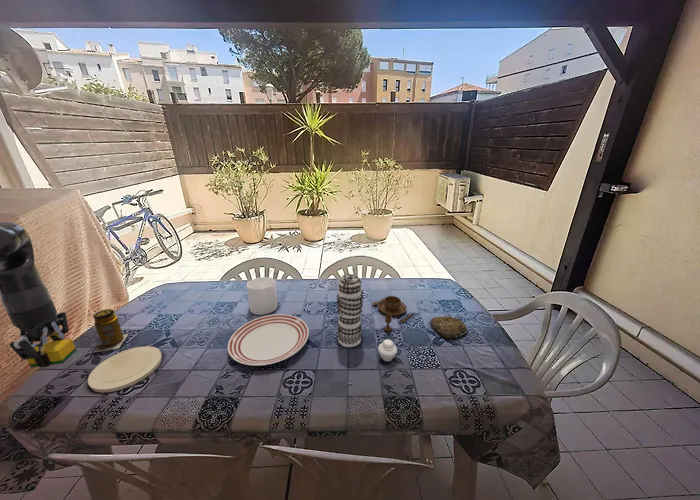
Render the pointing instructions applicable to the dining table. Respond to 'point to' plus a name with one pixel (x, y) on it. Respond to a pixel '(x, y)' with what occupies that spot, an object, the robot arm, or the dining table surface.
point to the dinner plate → (268, 339)
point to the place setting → (391, 309)
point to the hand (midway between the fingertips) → (54, 358)
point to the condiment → (108, 330)
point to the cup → (262, 295)
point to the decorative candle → (349, 310)
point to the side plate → (124, 369)
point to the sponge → (56, 351)
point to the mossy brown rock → (448, 326)
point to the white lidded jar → (387, 350)
